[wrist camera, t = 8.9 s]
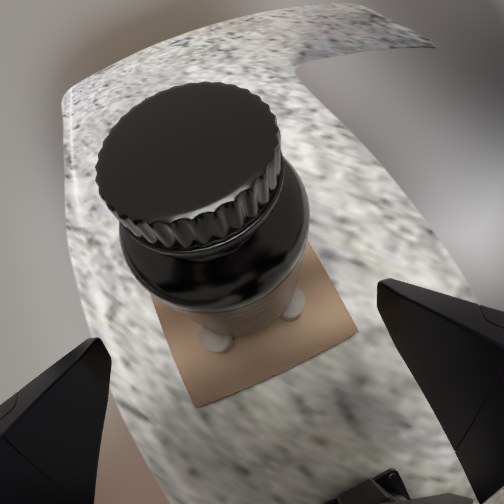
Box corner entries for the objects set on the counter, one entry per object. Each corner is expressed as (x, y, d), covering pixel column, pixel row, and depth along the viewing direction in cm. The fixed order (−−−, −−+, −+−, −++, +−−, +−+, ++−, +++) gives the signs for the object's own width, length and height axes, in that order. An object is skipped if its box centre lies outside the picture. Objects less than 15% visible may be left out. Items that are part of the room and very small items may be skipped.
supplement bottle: (160, 281, 18) (36, 160, 7) (240, 209, 20) (203, 43, 9) (236, 364, 16) (148, 343, 5) (320, 280, 17) (379, 129, 6)
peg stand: (355, 333, 20) (371, 324, 16) (198, 406, 19) (181, 413, 15) (279, 199, 24) (279, 169, 21) (143, 261, 23) (121, 240, 20)
